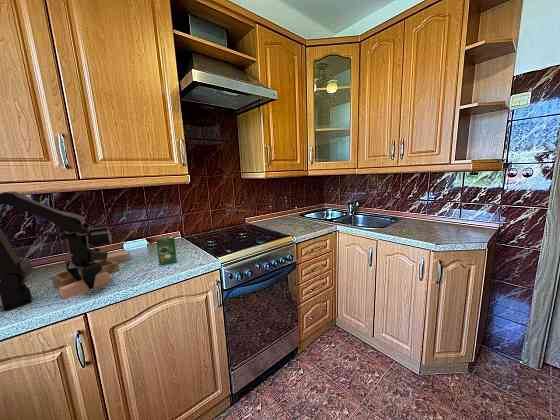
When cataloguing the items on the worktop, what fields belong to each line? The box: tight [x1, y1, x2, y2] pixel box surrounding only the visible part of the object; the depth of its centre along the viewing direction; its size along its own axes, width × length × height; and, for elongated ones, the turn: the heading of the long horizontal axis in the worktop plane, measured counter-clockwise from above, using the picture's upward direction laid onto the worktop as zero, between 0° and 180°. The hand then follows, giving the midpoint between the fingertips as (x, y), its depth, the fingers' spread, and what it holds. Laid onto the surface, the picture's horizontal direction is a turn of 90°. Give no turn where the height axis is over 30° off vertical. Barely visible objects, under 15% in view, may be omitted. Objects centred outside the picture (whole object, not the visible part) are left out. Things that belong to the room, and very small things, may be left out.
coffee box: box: [155, 235, 178, 266], centre depth 113 cm, size 8×3×13 cm, turn 108°
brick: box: [89, 249, 131, 264], centre depth 119 cm, size 17×8×5 cm, turn 125°
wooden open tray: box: [50, 259, 120, 289], centre depth 102 cm, size 20×11×4 cm, turn 149°
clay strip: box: [58, 272, 112, 300], centre depth 91 cm, size 15×4×4 cm, turn 149°
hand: (86, 286), depth 91 cm, fingers open, 9 cm apart
